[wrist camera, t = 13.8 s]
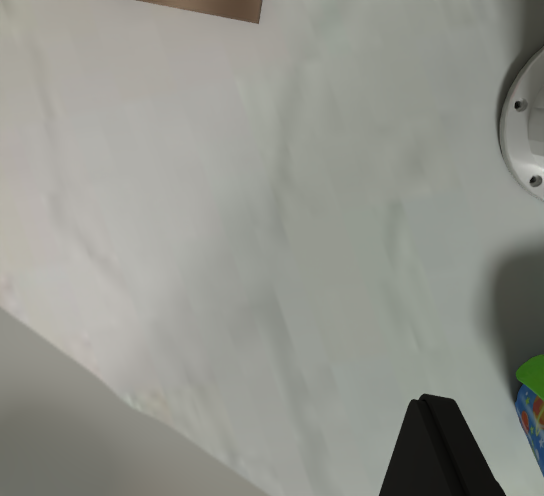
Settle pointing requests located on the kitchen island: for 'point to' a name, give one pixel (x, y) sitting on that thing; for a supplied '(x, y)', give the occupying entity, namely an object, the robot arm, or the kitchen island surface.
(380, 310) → the kitchen island surface
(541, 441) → the snack cup
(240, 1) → the can holder
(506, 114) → the robot arm
